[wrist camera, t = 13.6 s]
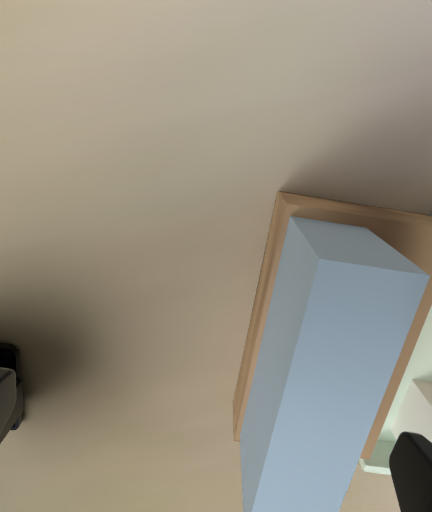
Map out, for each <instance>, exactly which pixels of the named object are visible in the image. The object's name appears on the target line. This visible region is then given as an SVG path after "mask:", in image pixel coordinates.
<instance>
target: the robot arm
mask: <svg viewBox="0 0 432 512" xmlns="http://www.w3.org/2000/svg"><path fill="white" fill-rule="evenodd" d="M8 352H10V353H11V355H10V354H9V353H8ZM23 410H24V405H23V381H22V379H21V377H20V360H19V350H18V349H17V347H15V346H14V345H10V344H3V343H0V443H1V442H2V441H3V439H4V438H5V436H6V435H7V433H8V432H9V431H10V430H16V429H18V427H19V426H20V425H21V423H22V412H23ZM389 468H390V472H391V476H392V480H393V483H394V487H395V491H396V495H397V499H398V502H399V506H400V510H401V512H432V443H431V442H430V441H429V440H428V439H427V438H425V437H424V436H423V435H421V434H418V433H413V432H407V431H404V432H402V433H400V435H399V436H398V439H397V441H396V443H395V445H394V447H393V450H392V452H391V454H390V457H389Z"/></svg>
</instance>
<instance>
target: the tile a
mask: <svg viewBox="0 0 432 512" xmlns="http://www.w3.org/2000/svg"><path fill="white" fill-rule="evenodd" d="M390 429H391V431H392V433H393V435H394V437H395V439H396V441H397V439H398V436H399V435H400V433H402V432H404V431H407V432H413V433H418V434H421V435H423V436H424V437H425V438H427V439H428V440H429V441H430V442H431V443H432V382H427V381H420V380H414V379H412V380H411V382H410V384H409V387H408V389H407V391H406V394H405V396H404V398H403V401H402V403H401V405H400V407H399V410H398V412H397V414H396V417H395V419H394V421H393V424H392V426H391V428H390Z"/></svg>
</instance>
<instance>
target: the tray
mask: <svg viewBox="0 0 432 512" xmlns="http://www.w3.org/2000/svg"><path fill="white" fill-rule="evenodd" d="M431 217H432V216H431ZM412 379H414V380H420V381H427V382H432V305H431V308H430V310H429V313H428V315H427V318H426V320H425V323H424V325H423V328H422V330H421V333H420V335H419V338H418V340H417V343H416V345H415V348H414V350H413V353H412V355H411V358H410V360H409V363H408V365H407V368H406V370H405V373H404V375H403V378H402V380H401V383H400V385H399V388H398V390H397V393H396V395H395V397H394V400H393V402H392V405H391V407H390V410H389V412H388V415H387V417H386V420H385V422H384V425H383V427H382V430H381V432H380V435H379V437H378V440H377V442H376V445H375V447H374V450H373V452H372V455H371V457H370V460H369V459H361V458H359V462H360V464H361V467H362V469H363V471H366V472H373V473H380V474H388V475H391V472H390V468H389V457H390V454H391V452H392V450H393V447H394V445H395V443H396V439H395V437H394V435H393V433H392V431H391V429H390V428H391V426H392V424H393V421H394V419H395V417H396V414H397V412H398V410H399V407H400V405H401V403H402V401H403V398H404V396H405V394H406V391H407V389H408V387H409V384H410V382H411V380H412Z"/></svg>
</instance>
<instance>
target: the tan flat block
mask: <svg viewBox="0 0 432 512" xmlns="http://www.w3.org/2000/svg"><path fill="white" fill-rule="evenodd" d="M290 216H294V217H301V218H307V219H313V220H320V221H326V222H333V223H339V224H346V225H352V226H358V227H365V228H367V229H369V230H370V231H371V232H373V233H374V234H375V235H377V236H378V237H379V238H381V239H382V240H383V241H385V242H386V243H387V244H389V245H390V246H391V247H393V248H394V249H395V250H397V251H398V252H399V253H401V254H402V255H403V256H405V257H406V258H407V259H409V260H410V261H411V262H413V263H414V264H415V265H417V266H418V267H419V268H421V269H422V270H423V271H425V272H426V273H427V274H429V275H430V278H429V280H428V283H427V286H426V288H425V291H424V293H423V296H422V298H421V301H420V304H419V306H418V309H417V311H416V314H415V316H414V319H413V322H412V324H411V327H410V329H409V332H408V334H407V337H406V340H405V342H404V345H403V347H402V350H401V353H400V355H399V358H398V360H397V363H396V365H395V368H394V371H393V373H392V376H391V378H390V381H389V383H388V386H387V389H386V391H385V394H384V396H383V399H382V401H381V404H380V407H379V409H378V412H377V414H376V417H375V419H374V422H373V425H372V427H371V430H370V432H369V435H368V438H367V440H366V443H365V445H364V448H363V450H362V453H361V456H360V458H361V459H369V460H370V457H371V455H372V452H373V450H374V447H375V445H376V442H377V440H378V437H379V435H380V432H381V430H382V427H383V425H384V422H385V420H386V417H387V415H388V412H389V410H390V407H391V405H392V402H393V400H394V397H395V395H396V393H397V390H398V388H399V385H400V383H401V380H402V378H403V375H404V373H405V370H406V368H407V365H408V363H409V360H410V358H411V355H412V353H413V350H414V348H415V345H416V343H417V340H418V338H419V335H420V333H421V330H422V328H423V325H424V323H425V320H426V318H427V315H428V313H429V310H430V308H431V305H432V217H430V216H428V215H424V214H417V213H411V212H405V211H398V210H392V209H386V208H379V207H373V206H367V205H360V204H354V203H348V202H341V201H335V200H329V199H322V198H316V197H310V196H303V195H297V194H291V193H284V192H277V197H276V202H275V206H274V211H273V216H272V221H271V225H270V230H269V235H268V240H267V244H266V249H265V254H264V259H263V263H262V268H261V273H260V277H259V282H258V287H257V292H256V296H255V301H254V306H253V311H252V315H251V320H250V325H249V329H248V334H247V339H246V344H245V348H244V353H243V358H242V363H241V367H240V372H239V377H238V382H237V386H236V391H235V396H234V400H233V427H234V441H238V442H240V433H241V428H242V424H243V420H244V415H245V411H246V406H247V402H248V398H249V393H250V389H251V385H252V380H253V376H254V371H255V367H256V363H257V358H258V354H259V349H260V345H261V341H262V336H263V332H264V328H265V323H266V319H267V314H268V310H269V306H270V301H271V297H272V293H273V288H274V284H275V279H276V275H277V271H278V266H279V262H280V257H281V253H282V249H283V244H284V240H285V236H286V231H287V227H288V222H289V218H290Z"/></svg>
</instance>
